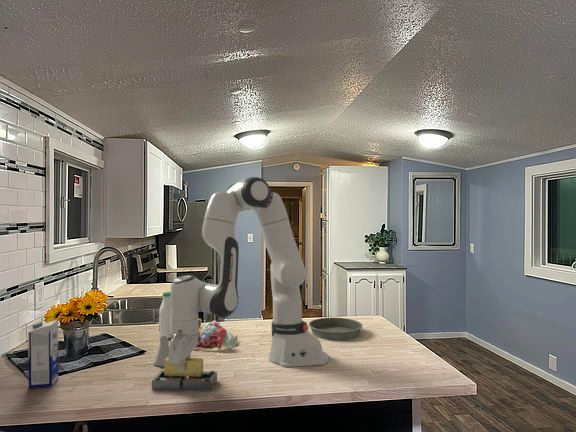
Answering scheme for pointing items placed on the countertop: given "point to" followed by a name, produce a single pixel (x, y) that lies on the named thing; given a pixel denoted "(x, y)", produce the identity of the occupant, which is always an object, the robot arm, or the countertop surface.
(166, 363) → the tall mustard post
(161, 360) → the flask
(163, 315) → the milk bottle
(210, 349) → the candy landscape model
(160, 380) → the link
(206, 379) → the grey forked link
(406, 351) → the countertop surface
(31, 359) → the milk carton
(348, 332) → the cake pan
